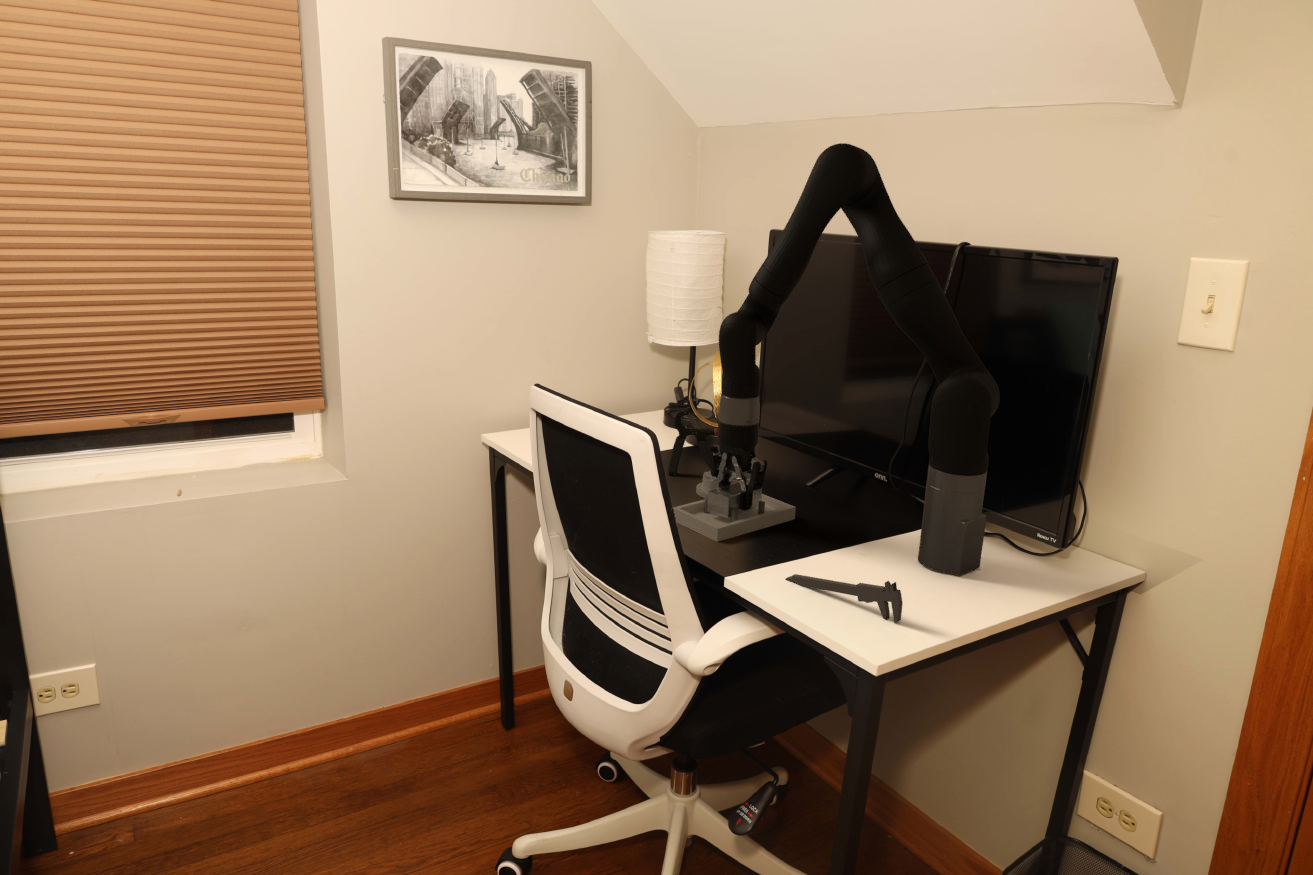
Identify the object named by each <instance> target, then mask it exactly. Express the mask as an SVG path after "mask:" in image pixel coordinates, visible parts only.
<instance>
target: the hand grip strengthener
mask: <svg viewBox="0 0 1313 875" xmlns="http://www.w3.org/2000/svg"><path fill="white" fill-rule="evenodd" d="M689 411H690V410H689V409H687V408H686V409H681V410H679V411H678V413H677V414H676V416H675V417H674V424H673V425H674V427H675V429H676V430H677V432H678V435H677V436H676V438H675V440H674V443H673V446H672V449H671V454H670V457H669V462H668V465H667V466H668V467H667V472H668V476H672V475H675V476H674V477H676V476H677V475H678V470H679V469H678V468H679V463H680V459H681V457H682V456H681V455H682V453H683V452H682V451H683V449H684V446H685V442H686V440H687V437H688V436H695V438H696V441H697V445H698V449H699V452H700V454H701V456H702V458H703V460H704V462H705V464H706V465H707V466H708V468H709V469H710V459H709V447H710V446H709V444H708V442H709V441H708V438H706V437H711V436H713V437H714V436H715V437H718V427H714V428H702V426H700V424H699V423H698V422H697V421H696V419H695V418H694V416H692V414H691V413H690V412H689ZM686 415H687V417H686V419H688V421H689V422H690V423H691V425H692V426H693V427H694V428H687V427H685V426H684V425H683V423H682V417H683V416H686ZM698 428H699V429H698ZM716 470H718V463H717V464H716Z"/></svg>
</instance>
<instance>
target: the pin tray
mask: <svg viewBox="0 0 1313 875" xmlns="http://www.w3.org/2000/svg"><path fill="white" fill-rule="evenodd" d="M707 507H708V497H704V499H701V500H697V501H693V502H689V503H685V504H682V505H678V506H674V507H672V508H673V509H674V513H675V517H676V522H675V523H677V524H678V525H681V526H683V527H685V528H687V529H689V530H692V531H694V532H696V533H698V534H700V535H702V536H704V537H705V538H708V539H710V540H712V541H714V542H716V541H717V542H720V541H721V542H722V541H725V540H728V539H733V538H735V537H739V536H742V535H746V534H749V533H752V532H755V531H759V530H762V529H766V528H769V527H770V528H771V527H774V526H776V525H780V524H782V523H783V524H784V523H787V522H790V521H794V520H796V508H797V507H796V506H794V505H791V504H789V503H788V502H787V503H786V502H783V501H781V500H779V499H776V498H774V497H771V496H768V495H766V494H764V493H762V499H761V501H759V505H758V507H757V508H754V509H751V510H749V511H746V512H743V513H741V514H738V509H736V508H732V509H731V517H730V518H725V517H722V516H720V515H717V514H714V513H711V512H708V511H707ZM717 542H716V543H717Z"/></svg>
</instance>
